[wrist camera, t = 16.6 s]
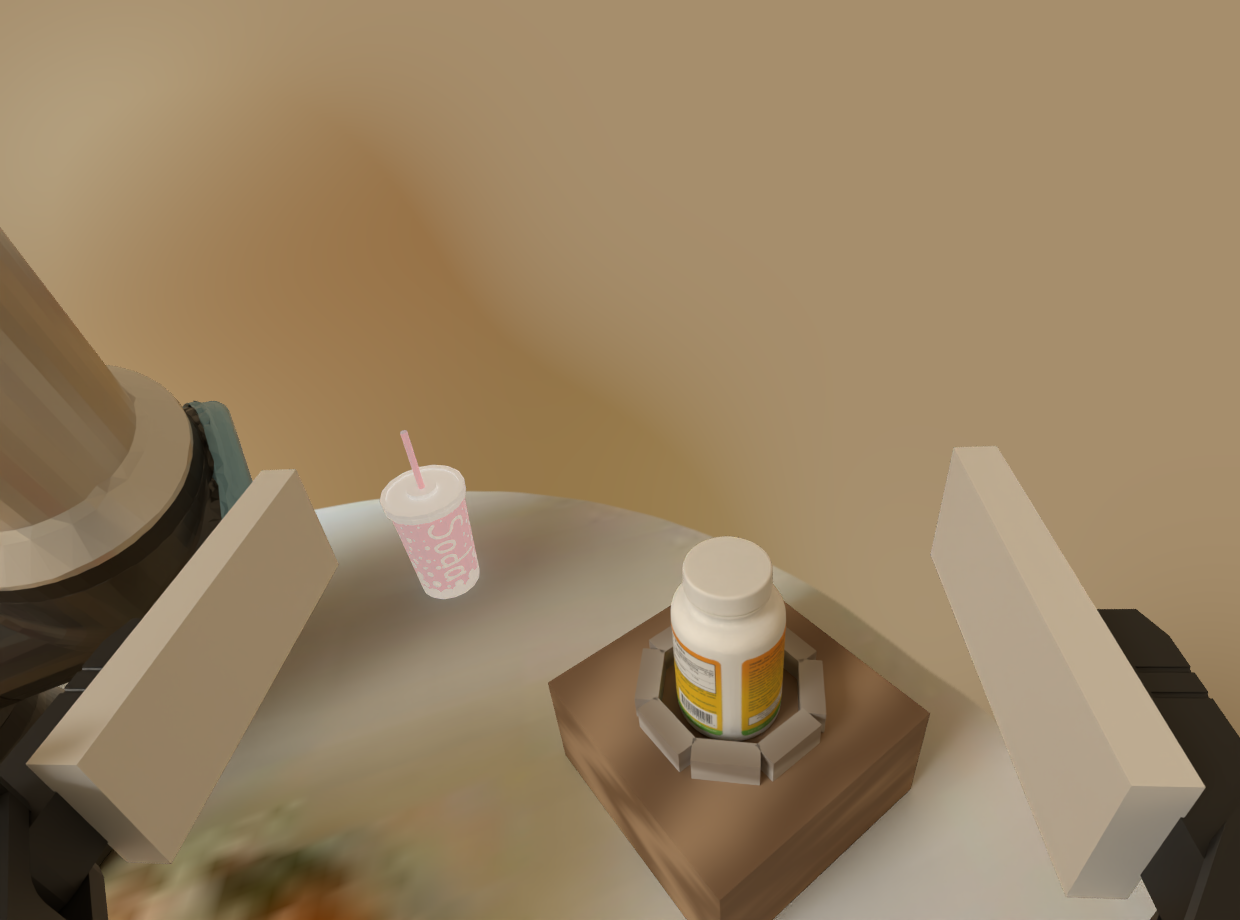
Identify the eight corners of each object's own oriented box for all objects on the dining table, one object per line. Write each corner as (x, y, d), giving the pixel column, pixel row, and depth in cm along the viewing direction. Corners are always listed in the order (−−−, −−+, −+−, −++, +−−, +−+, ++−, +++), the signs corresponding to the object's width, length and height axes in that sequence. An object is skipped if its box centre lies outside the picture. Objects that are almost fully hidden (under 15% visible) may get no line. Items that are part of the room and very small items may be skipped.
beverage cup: (416, 616, 54) (359, 467, 46) (409, 564, 59) (356, 421, 51) (495, 591, 55) (453, 443, 47) (482, 543, 60) (442, 400, 52)
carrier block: (565, 754, 43) (543, 665, 38) (735, 637, 49) (735, 547, 44) (721, 967, 34) (719, 883, 29) (910, 789, 40) (934, 694, 35)
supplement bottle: (775, 656, 39) (782, 523, 34) (786, 746, 35) (797, 610, 29) (677, 656, 40) (667, 526, 34) (676, 744, 35) (665, 610, 30)
